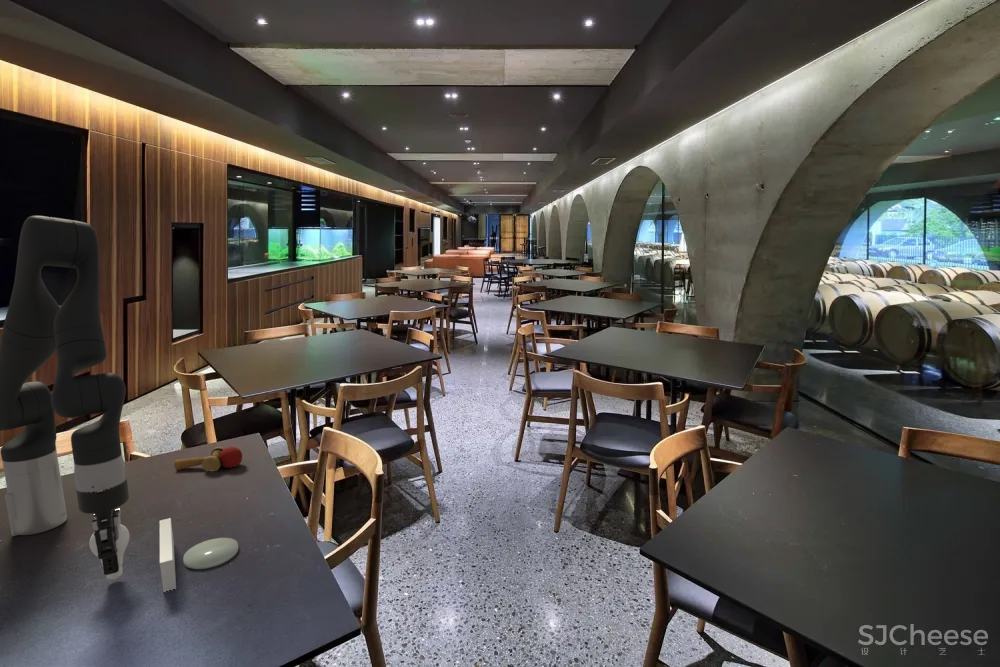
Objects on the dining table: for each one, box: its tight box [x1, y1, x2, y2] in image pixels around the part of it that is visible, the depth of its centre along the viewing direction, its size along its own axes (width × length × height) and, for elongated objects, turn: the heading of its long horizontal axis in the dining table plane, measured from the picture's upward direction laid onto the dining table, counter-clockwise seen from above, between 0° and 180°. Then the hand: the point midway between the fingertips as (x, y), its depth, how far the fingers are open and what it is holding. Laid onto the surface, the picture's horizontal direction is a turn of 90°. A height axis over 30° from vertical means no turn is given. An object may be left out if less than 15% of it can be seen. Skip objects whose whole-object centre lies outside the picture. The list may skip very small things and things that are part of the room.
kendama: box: [174, 446, 243, 472], centre depth 152 cm, size 8×6×18 cm
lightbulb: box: [88, 524, 130, 580], centre depth 100 cm, size 6×6×11 cm
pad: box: [183, 537, 239, 570], centre depth 109 cm, size 10×10×1 cm
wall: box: [159, 517, 177, 593], centre depth 105 cm, size 2×18×6 cm, turn 33°
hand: (113, 564), depth 101 cm, fingers closed on lightbulb, 5 cm apart
